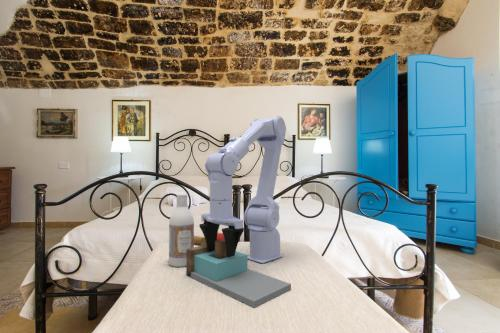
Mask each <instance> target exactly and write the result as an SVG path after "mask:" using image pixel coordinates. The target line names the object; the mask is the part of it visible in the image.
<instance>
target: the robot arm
mask: <svg viewBox="0 0 500 333" xmlns="http://www.w3.org/2000/svg"><path fill="white" fill-rule="evenodd" d="M249 124H250V126H249V127H248V128H246V130H245V132H244V133H242V135H240V137H239V136H235V137H230V138H229V139H228V140H229V142H227V143H226V144H225V145H224V146H221V147H220V148H219V151H217V152H216V153H215V152H214V153H213V152H212V153H211V154H210V155H209V156H208V157H207V159H206V162H205V163H204V168H205V171H206V173H207V179H208V182H209V213H201V214H200V215H201V220H200V221H201V222H203V223H199V229H200V230H201V232H202V235H203V237H205V240H206V245H207V249H208V251H212V250H215V241H216V240H217V233H218V232H219V228H220V226H226V227H224V228H221V233H223V235H224V239H225V245H226V256H227V257H233V256H235V252H236V250H237V247H238V244H239V241H240V239H241V237H242V235H243V233H244V231H245V228H244V223H245V225H246V226H247V229H248V230H249V254H247V260H248V261H249V260H250V261H253V262H256V263H259V264H264V263H268V262H271V261H274V260H276V259H279V258H282V257H283V255H282V254H281V234H280V232H279V230H278V229H277V227H278V225H279V222H280V205H279V204H278V203H277V202H276V200H274V195H275V186H276V182H277V181H276V180H277V175H278V170H279V163H280V159H281V158H280V157H281V153H282V146H283V145H284V144H285V138H286V133H287V125H286V122H285V120H284V118H283V117H282V116H281V115H276V116H273V117H272V116H271V117H265V118H255V119H253V120H252V121H251V122H250V123H249ZM254 142H257V143H258V144H259V146H260V147H262V148H263V149H264V152H263V158H262V162H261V163H262V164H261V168H260V172H259V174H260V175H259V178H258V184H257V190H256V195H255V196H254V197H253V198H251V199H250V200H249V201H248V204H247V207H246V209H245V211H244V213H243V214H244V215H243V219H240V218H237V217H236V216H233V175H234V174H235V173H237V170H238V166H239V164H240V162H241V160H242V159H243V158H245V156H247V154H249V150H250V146H251V145H252V144H253V143H254Z"/></svg>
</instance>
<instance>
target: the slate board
mask: <svg viewBox="0 0 500 333" xmlns="http://www.w3.org/2000/svg"><path fill="white" fill-rule="evenodd" d="M185 271H186V270H185ZM185 273H186V274H187V275H188V276H187V275H186V274H185V275H186V276H187V277H189V278H191V279H194V280H195V281H197V282H199V283H202V284H203V285H206V286H208V287H210V288H212V289H214V290H216V291H219V292H221V293H223V294H225V295H227V296H228V297H230V298H233V299H235V300H237V301H238V302H241V303H243V304H244V305H247V306H249V307H251V308H257V307H258V306H260V305H263V304H264V303H267V302H268V301H271V300H272V299H274V298H277V297H278V296H280V295H283V294H285V293H287V292H289V291H291V290H292V283H289V282H286V281H285V280H284V281H283V280H280V279H278V278H275V277H272V276H270V275H266V274H263V273H260V272H259V271H255V270H252V269H249V268H247V271H244V272H242V273H239V274H236V275H233V276H230V277H227V278H224V279H222V280H219V281H215V280H212V279H210V278H208V277H206V276H203V275H201V274H199V273H197V272H191V273H190V272H188V271H186V272H185ZM190 275H191V277H190Z"/></svg>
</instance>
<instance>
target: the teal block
mask: <svg viewBox="0 0 500 333" xmlns="http://www.w3.org/2000/svg"><path fill="white" fill-rule="evenodd" d="M247 255H248V254H245V253H244V252H240V251H236V252H235V256H233V257H226V258H223V259H217V258H215V250H214V251H210V252H206V253H202V254H198V255H194V272H197V273H199V274H201V275H203V276H206V277H208V278H210V279H212V280H215V281H219V280H222V279H224V278H227V277H230V276H233V275H236V274H239V273H242V272H244V271H247V269H248V259H247Z"/></svg>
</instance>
